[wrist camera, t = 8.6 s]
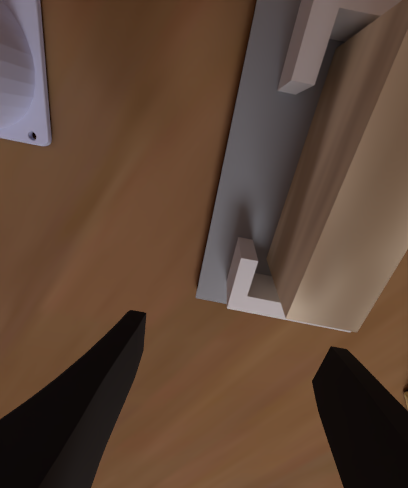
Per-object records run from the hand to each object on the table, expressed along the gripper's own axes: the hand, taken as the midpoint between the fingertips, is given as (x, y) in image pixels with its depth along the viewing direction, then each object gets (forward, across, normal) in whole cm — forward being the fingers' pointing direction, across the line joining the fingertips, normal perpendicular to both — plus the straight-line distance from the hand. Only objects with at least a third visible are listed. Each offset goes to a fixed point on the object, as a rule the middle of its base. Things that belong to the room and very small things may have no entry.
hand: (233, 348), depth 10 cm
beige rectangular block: (+8, -4, -6) cm, 11 cm away
